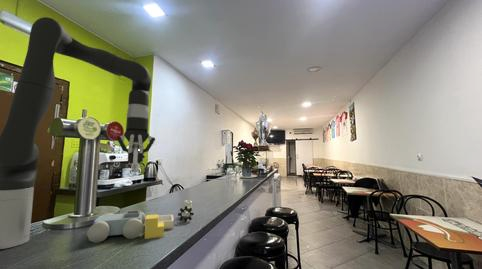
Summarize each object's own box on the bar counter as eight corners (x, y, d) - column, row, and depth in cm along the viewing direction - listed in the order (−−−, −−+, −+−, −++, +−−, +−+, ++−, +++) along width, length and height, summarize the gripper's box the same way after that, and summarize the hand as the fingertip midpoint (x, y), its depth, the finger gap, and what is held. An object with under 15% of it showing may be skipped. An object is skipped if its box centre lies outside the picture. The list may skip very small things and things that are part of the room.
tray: (148, 231, 80) (148, 222, 80) (149, 223, 88) (150, 216, 88) (173, 228, 83) (173, 220, 83) (172, 221, 91) (173, 214, 91)
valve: (180, 214, 102) (177, 222, 90) (181, 200, 103) (177, 206, 91) (195, 214, 103) (193, 222, 91) (195, 200, 104) (193, 206, 92)
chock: (144, 238, 73) (145, 219, 73) (145, 233, 77) (146, 215, 78) (163, 236, 75) (164, 217, 75) (163, 231, 79) (164, 213, 80)
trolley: (86, 243, 68) (88, 220, 69) (98, 230, 80) (99, 210, 81) (141, 237, 73) (142, 215, 74) (145, 225, 86) (146, 207, 86)
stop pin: (129, 172, 78) (130, 141, 79) (130, 171, 81) (132, 142, 82) (139, 171, 79) (141, 142, 80) (140, 171, 82) (141, 142, 84)
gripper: (157, 120, 88) (155, 163, 86) (119, 118, 84) (116, 163, 82) (157, 117, 81) (154, 163, 79) (115, 114, 77) (111, 163, 75)
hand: (135, 163), depth 81 cm, fingers closed on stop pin, 2 cm apart
